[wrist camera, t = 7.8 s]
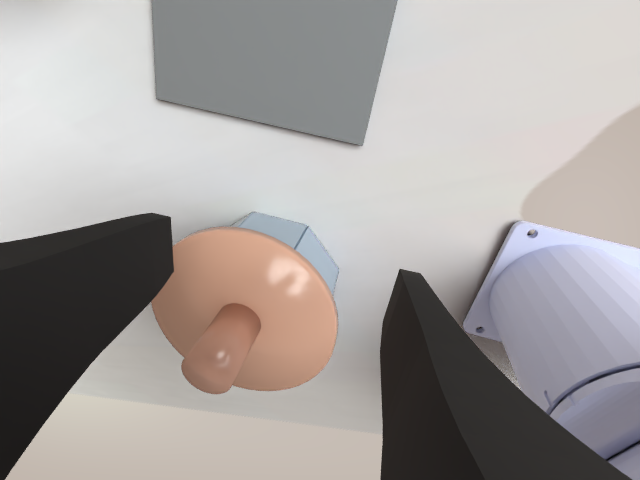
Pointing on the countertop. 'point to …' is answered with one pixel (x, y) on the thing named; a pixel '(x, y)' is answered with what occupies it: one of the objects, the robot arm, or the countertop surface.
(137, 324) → the countertop surface
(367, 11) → the mat
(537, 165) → the countertop surface
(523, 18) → the countertop surface
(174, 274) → the lid
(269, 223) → the grey octagonal bowl
